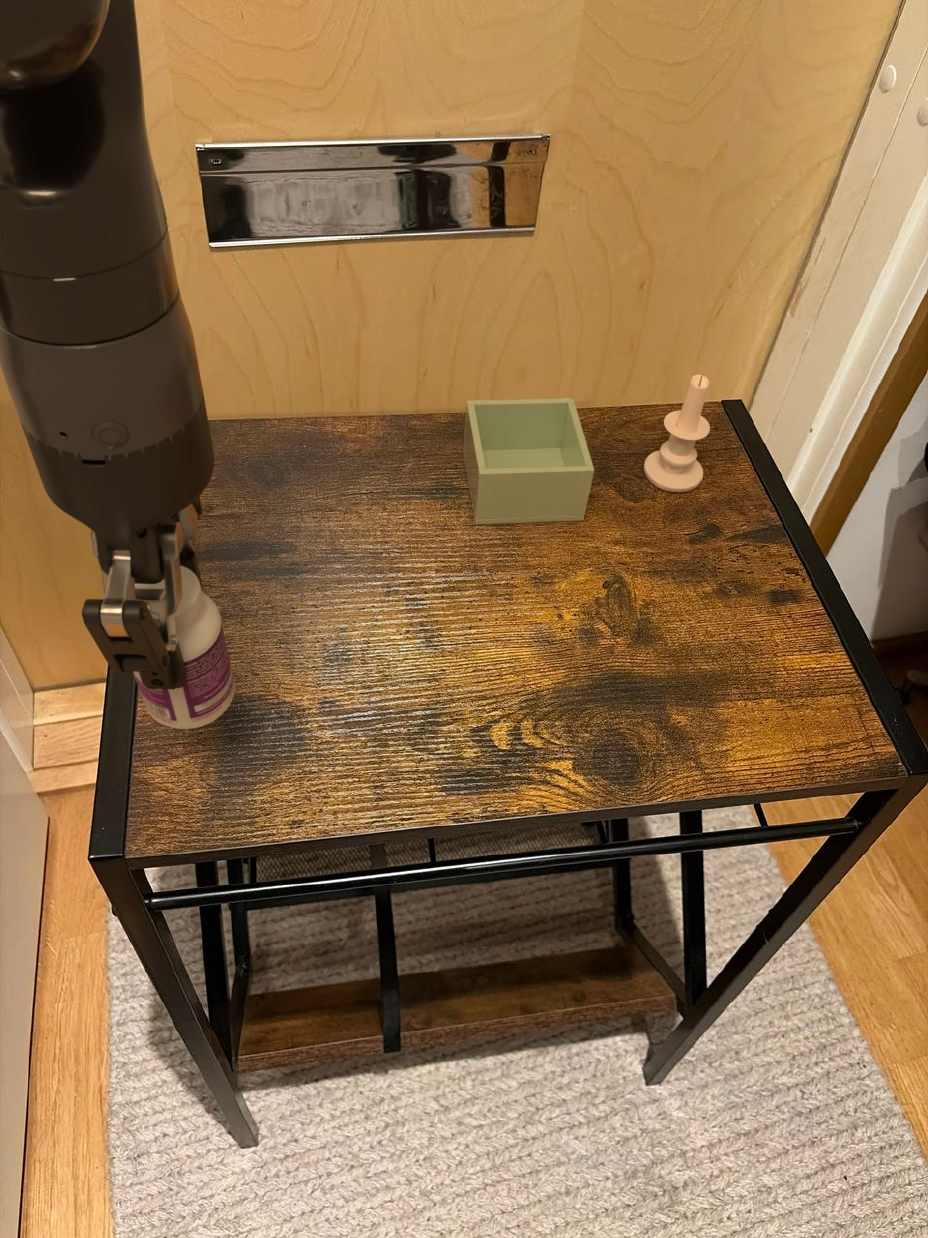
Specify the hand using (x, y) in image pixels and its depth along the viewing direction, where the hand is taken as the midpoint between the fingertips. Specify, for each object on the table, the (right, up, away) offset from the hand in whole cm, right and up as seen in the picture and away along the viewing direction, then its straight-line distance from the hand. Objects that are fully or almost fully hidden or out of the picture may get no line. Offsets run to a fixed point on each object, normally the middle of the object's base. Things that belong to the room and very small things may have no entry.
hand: (175, 638), depth 52 cm
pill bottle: (0, -4, +4) cm, 6 cm away
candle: (+35, +14, +31) cm, 48 cm away
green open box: (+21, +13, +29) cm, 38 cm away
